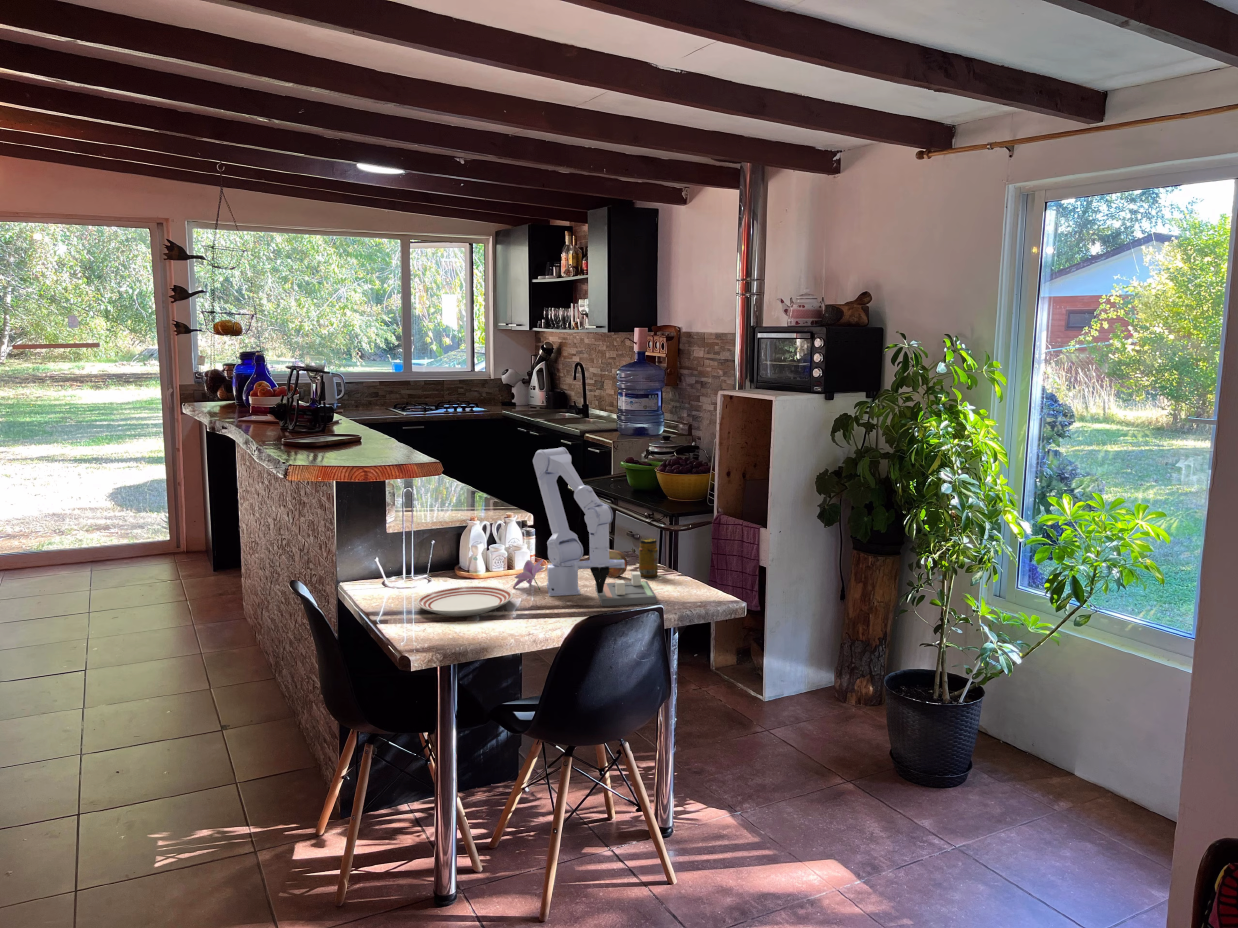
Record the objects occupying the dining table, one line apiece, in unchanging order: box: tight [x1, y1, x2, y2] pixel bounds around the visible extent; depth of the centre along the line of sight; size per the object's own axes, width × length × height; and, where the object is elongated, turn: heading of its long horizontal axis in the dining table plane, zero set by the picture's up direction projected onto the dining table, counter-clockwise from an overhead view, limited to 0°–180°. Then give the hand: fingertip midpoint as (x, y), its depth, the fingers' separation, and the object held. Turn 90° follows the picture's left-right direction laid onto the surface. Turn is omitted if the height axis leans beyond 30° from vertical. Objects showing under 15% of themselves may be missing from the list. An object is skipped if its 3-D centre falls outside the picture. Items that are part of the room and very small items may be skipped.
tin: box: [587, 549, 628, 578], centre depth 301 cm, size 15×3×8 cm, turn 50°
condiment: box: [638, 537, 668, 581], centre depth 298 cm, size 7×8×12 cm
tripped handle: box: [614, 579, 626, 595], centre depth 271 cm, size 2×3×4 cm
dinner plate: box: [416, 585, 514, 617], centre depth 267 cm, size 28×27×3 cm
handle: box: [630, 571, 642, 586], centre depth 280 cm, size 2×3×4 cm
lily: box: [512, 558, 546, 591], centre depth 286 cm, size 12×12×10 cm
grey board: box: [594, 580, 657, 607], centre depth 276 cm, size 16×17×2 cm
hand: (600, 592), depth 270 cm, fingers closed
